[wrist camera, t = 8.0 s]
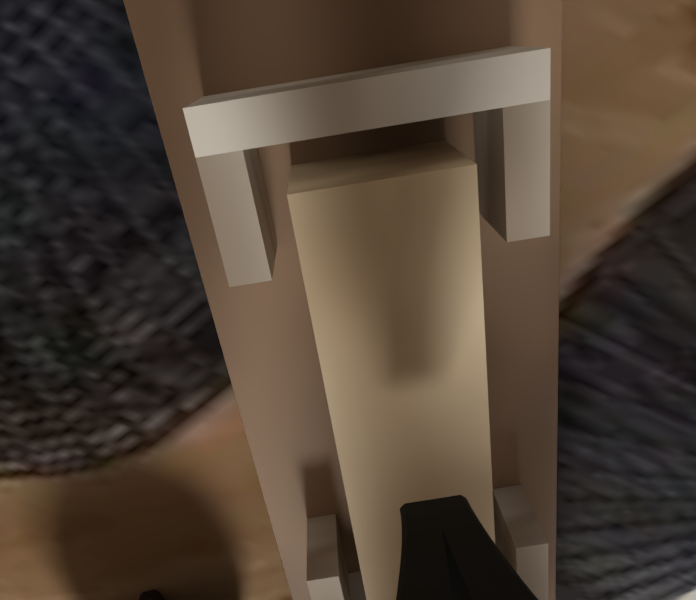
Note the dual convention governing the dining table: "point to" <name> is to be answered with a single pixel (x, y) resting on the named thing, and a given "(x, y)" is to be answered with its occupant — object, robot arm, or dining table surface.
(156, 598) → the mate gourd
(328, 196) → the slat
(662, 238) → the dining table surface
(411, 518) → the robot arm
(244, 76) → the endcap rail
